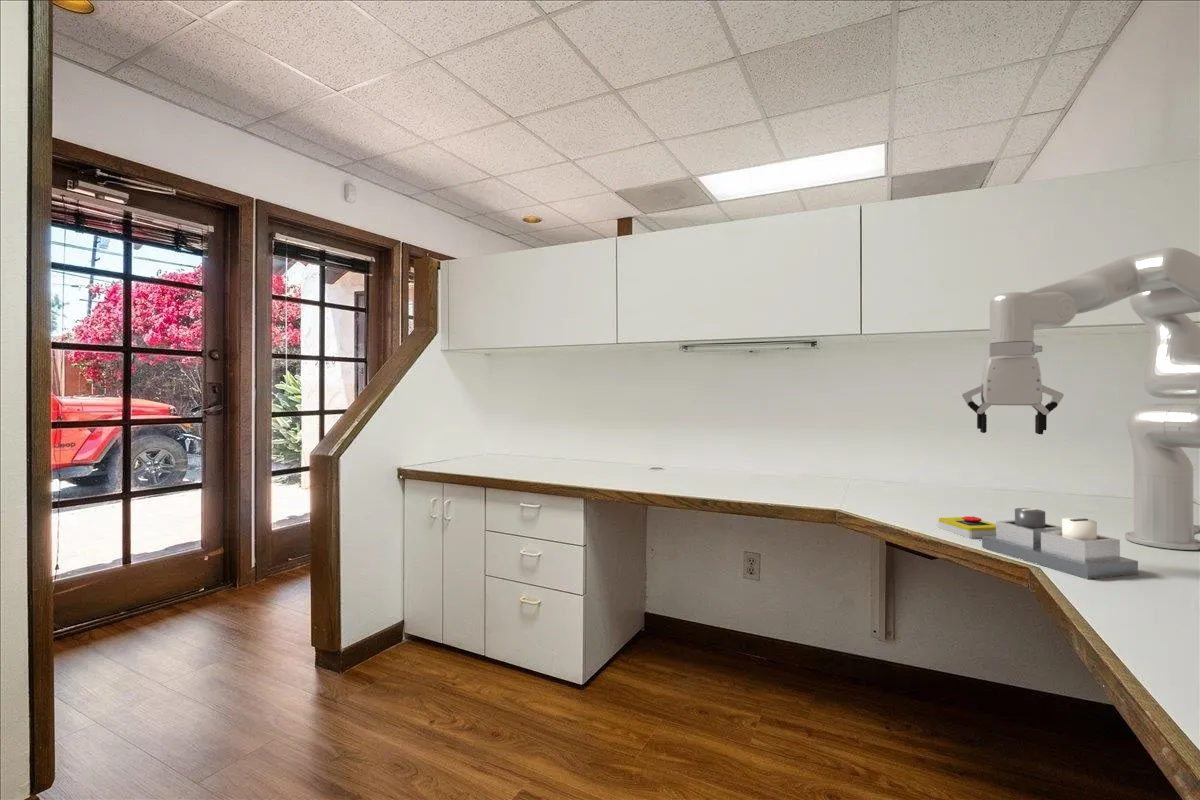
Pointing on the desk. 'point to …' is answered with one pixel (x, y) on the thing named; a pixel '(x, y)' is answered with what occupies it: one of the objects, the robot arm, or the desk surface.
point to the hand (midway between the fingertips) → (1010, 433)
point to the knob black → (1030, 518)
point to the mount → (1061, 550)
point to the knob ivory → (1079, 528)
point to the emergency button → (968, 527)
